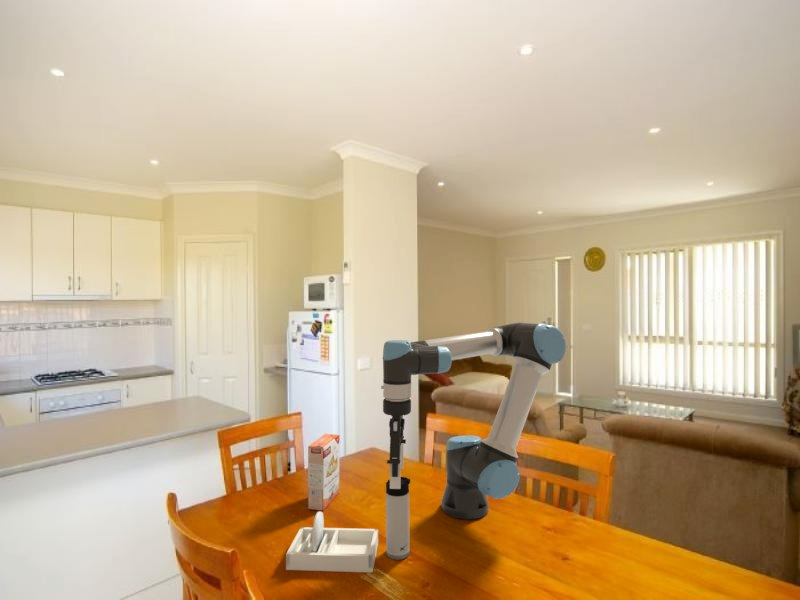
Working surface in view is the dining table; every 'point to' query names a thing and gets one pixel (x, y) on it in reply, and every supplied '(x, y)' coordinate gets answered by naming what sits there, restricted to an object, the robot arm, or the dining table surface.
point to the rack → (332, 548)
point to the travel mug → (397, 520)
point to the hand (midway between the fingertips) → (397, 477)
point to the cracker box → (323, 471)
